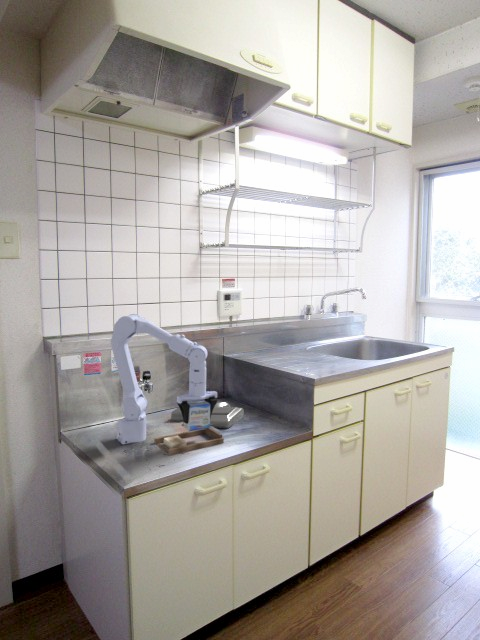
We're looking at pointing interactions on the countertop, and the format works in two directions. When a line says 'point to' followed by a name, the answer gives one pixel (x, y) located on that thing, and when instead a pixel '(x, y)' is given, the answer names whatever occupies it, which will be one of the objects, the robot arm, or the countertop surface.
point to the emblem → (217, 415)
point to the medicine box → (198, 416)
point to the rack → (209, 431)
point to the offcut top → (174, 442)
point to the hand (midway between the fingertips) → (197, 420)
